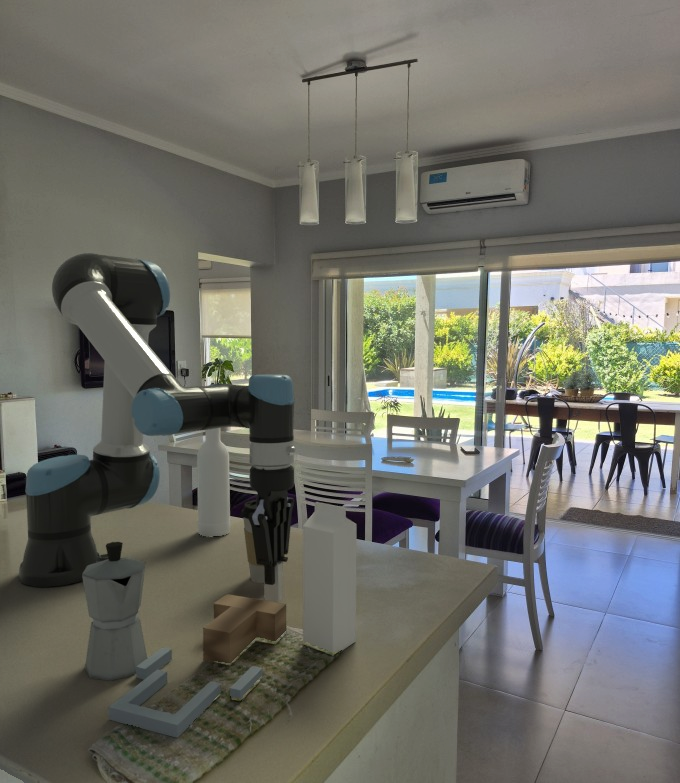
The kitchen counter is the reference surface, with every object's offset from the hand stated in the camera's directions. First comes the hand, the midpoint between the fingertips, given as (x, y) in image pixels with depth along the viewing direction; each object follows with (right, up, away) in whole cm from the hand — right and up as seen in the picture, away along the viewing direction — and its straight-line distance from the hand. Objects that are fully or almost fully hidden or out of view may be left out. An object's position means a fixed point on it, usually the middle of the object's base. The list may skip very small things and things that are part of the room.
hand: (273, 599), depth 106 cm
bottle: (-20, +1, +47) cm, 51 cm away
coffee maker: (-22, -4, -16) cm, 27 cm away
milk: (+10, -3, -10) cm, 15 cm away
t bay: (-10, -4, -25) cm, 27 cm away
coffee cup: (-3, -1, +17) cm, 17 cm away
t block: (-4, -3, -11) cm, 12 cm away
